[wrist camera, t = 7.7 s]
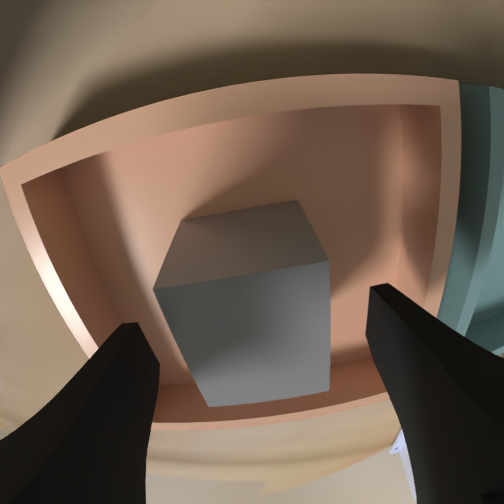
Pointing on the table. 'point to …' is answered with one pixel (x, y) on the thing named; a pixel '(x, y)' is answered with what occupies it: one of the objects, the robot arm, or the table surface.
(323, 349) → the stone block
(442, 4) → the table surface
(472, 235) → the slate bin
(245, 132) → the terracotta bin
